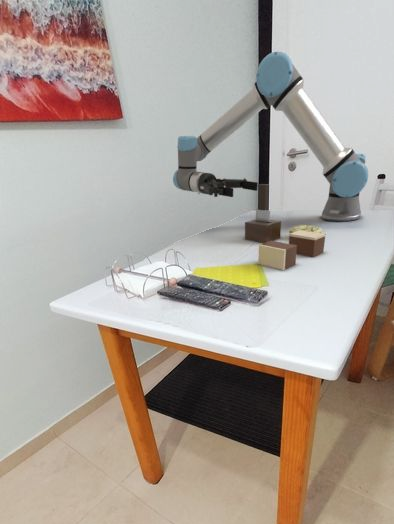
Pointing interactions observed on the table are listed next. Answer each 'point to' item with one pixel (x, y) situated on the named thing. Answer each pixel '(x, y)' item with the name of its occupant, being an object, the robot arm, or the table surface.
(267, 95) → the robot arm
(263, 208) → the knife
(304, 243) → the cake
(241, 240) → the table surface
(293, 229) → the decorated donut
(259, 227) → the knife block
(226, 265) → the table surface
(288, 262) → the cake slice
